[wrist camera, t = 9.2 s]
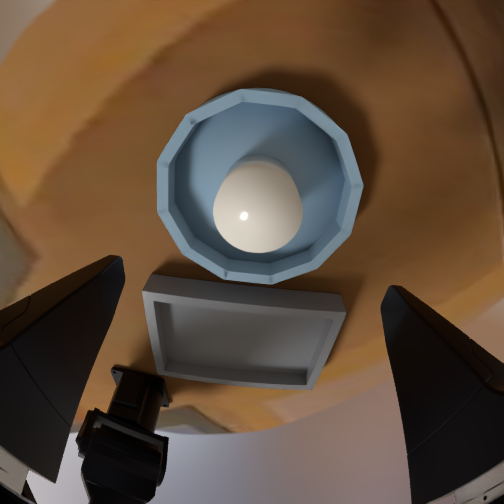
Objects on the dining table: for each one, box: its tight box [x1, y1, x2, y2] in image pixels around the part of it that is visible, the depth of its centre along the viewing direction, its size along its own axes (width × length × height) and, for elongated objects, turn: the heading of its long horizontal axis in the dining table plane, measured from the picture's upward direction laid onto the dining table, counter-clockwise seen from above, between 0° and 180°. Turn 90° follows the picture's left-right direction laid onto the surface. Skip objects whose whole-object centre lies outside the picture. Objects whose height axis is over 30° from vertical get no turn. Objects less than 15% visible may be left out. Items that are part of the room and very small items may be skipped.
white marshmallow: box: [213, 154, 303, 253], centre depth 16 cm, size 4×4×4 cm
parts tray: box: [142, 274, 347, 390], centre depth 24 cm, size 10×15×2 cm
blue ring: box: [157, 88, 364, 285], centre depth 17 cm, size 12×12×2 cm
